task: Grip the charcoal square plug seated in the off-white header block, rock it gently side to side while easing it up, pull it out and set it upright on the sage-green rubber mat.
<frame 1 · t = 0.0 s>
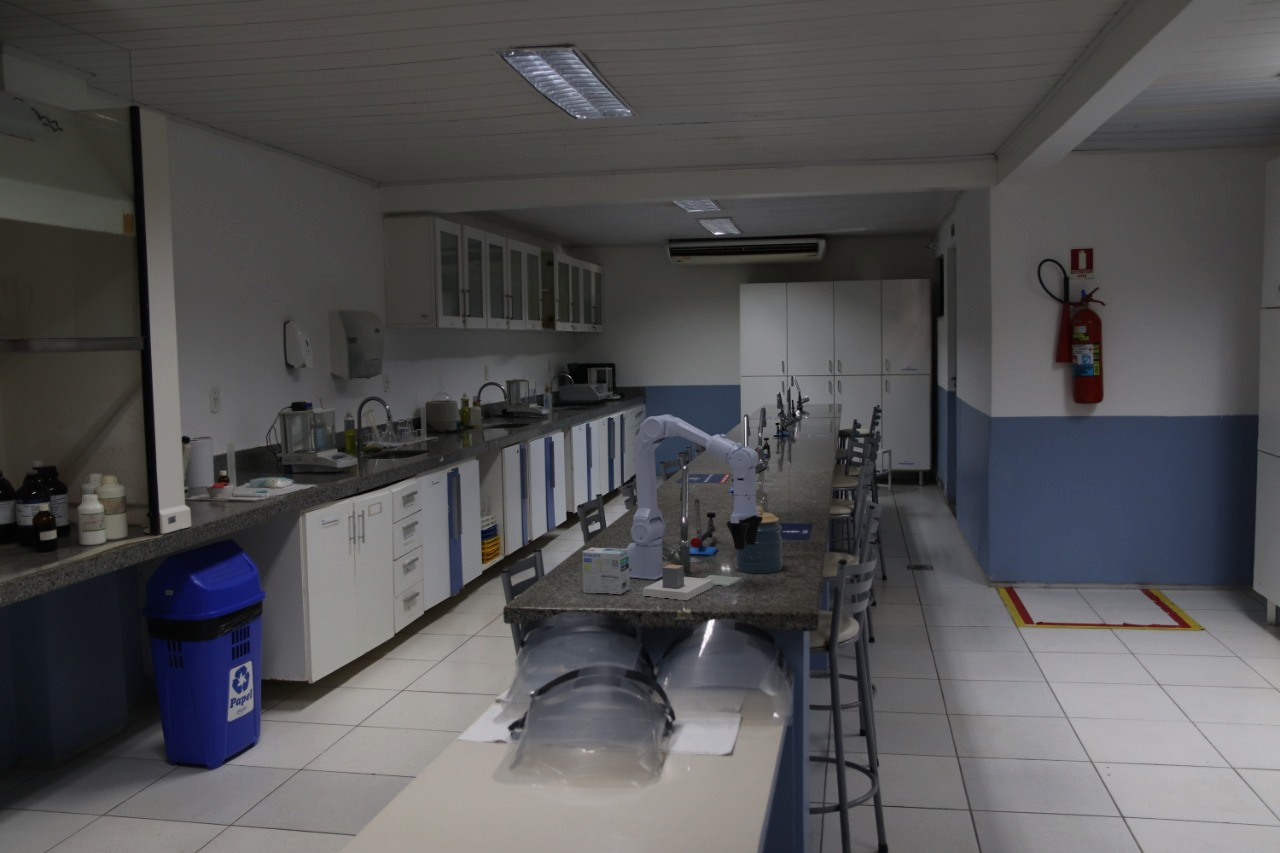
hand: (745, 546, 260), 10 cm above the counter, tool pointing down, fingers open, 7 cm apart
plug: (673, 594, 253), resting in header
canister: (758, 570, 280), on the counter
light bulb box: (606, 592, 257), on the counter
mat: (719, 581, 266), on the counter
header: (678, 591, 255), on the counter
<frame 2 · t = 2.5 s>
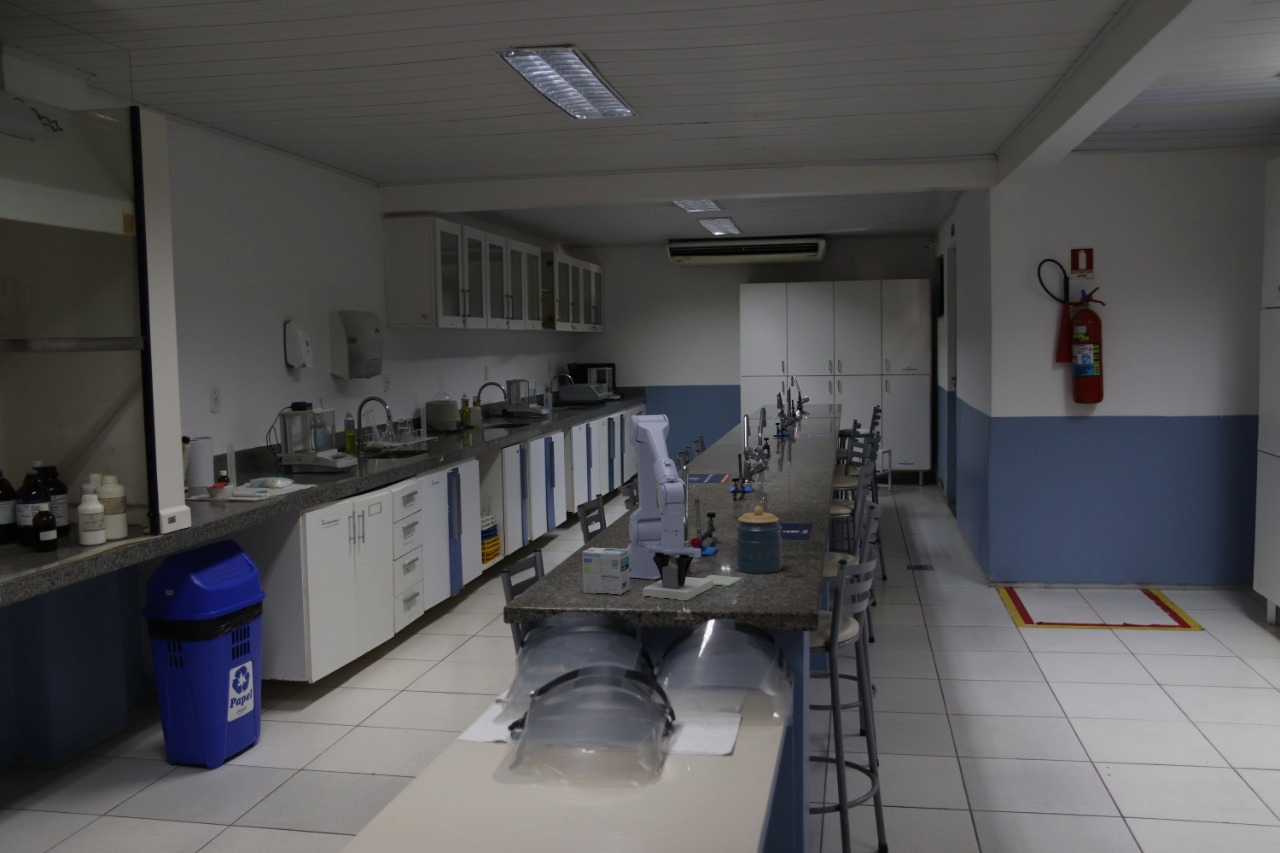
hand: (673, 583, 253), 3 cm above the counter, tool pointing down, fingers closed on plug, 4 cm apart
plug: (673, 594, 253), resting in header, touching gripper
everything else where it was.
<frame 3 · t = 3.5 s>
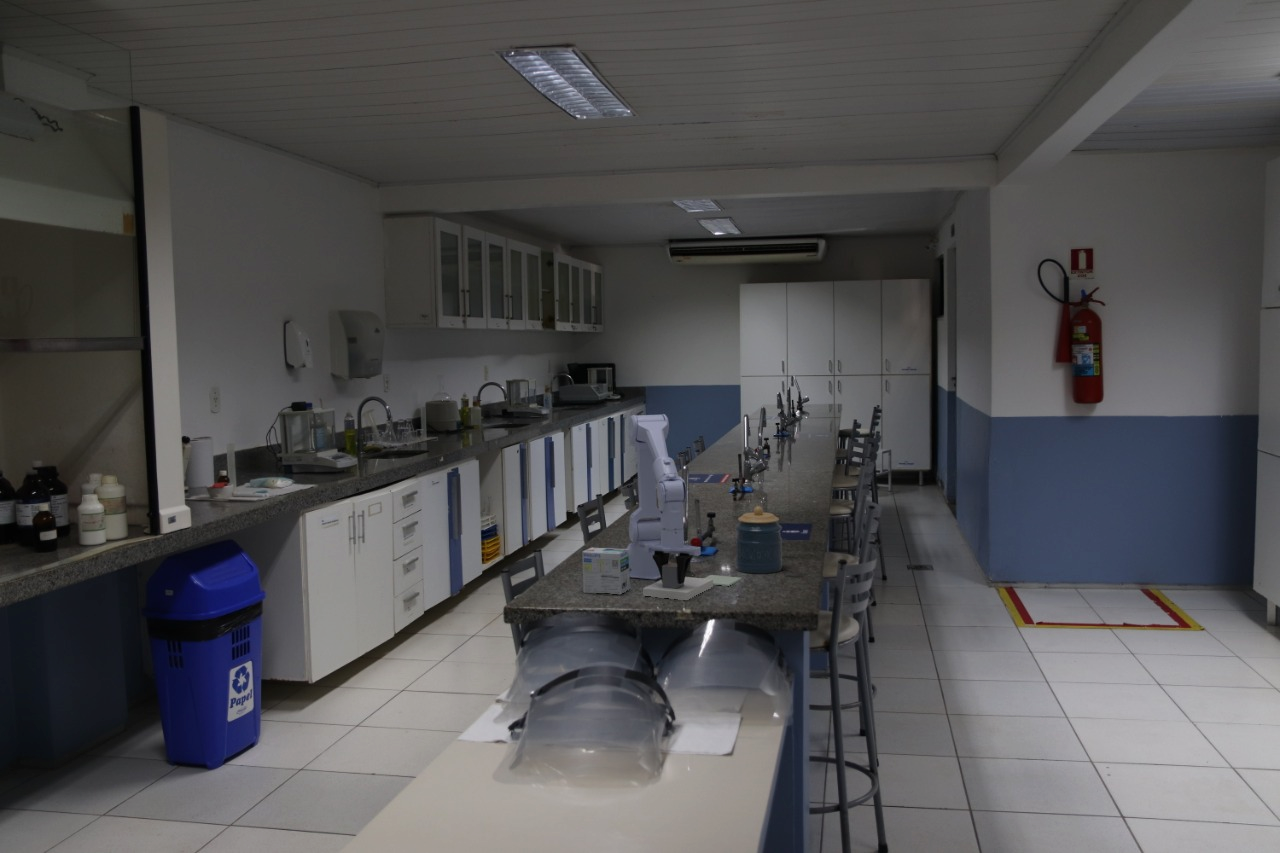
hand: (673, 582, 252), 3 cm above the counter, tool pointing down, fingers closed on plug, 4 cm apart
plug: (673, 592, 253), resting in header, touching gripper
everything else where it was.
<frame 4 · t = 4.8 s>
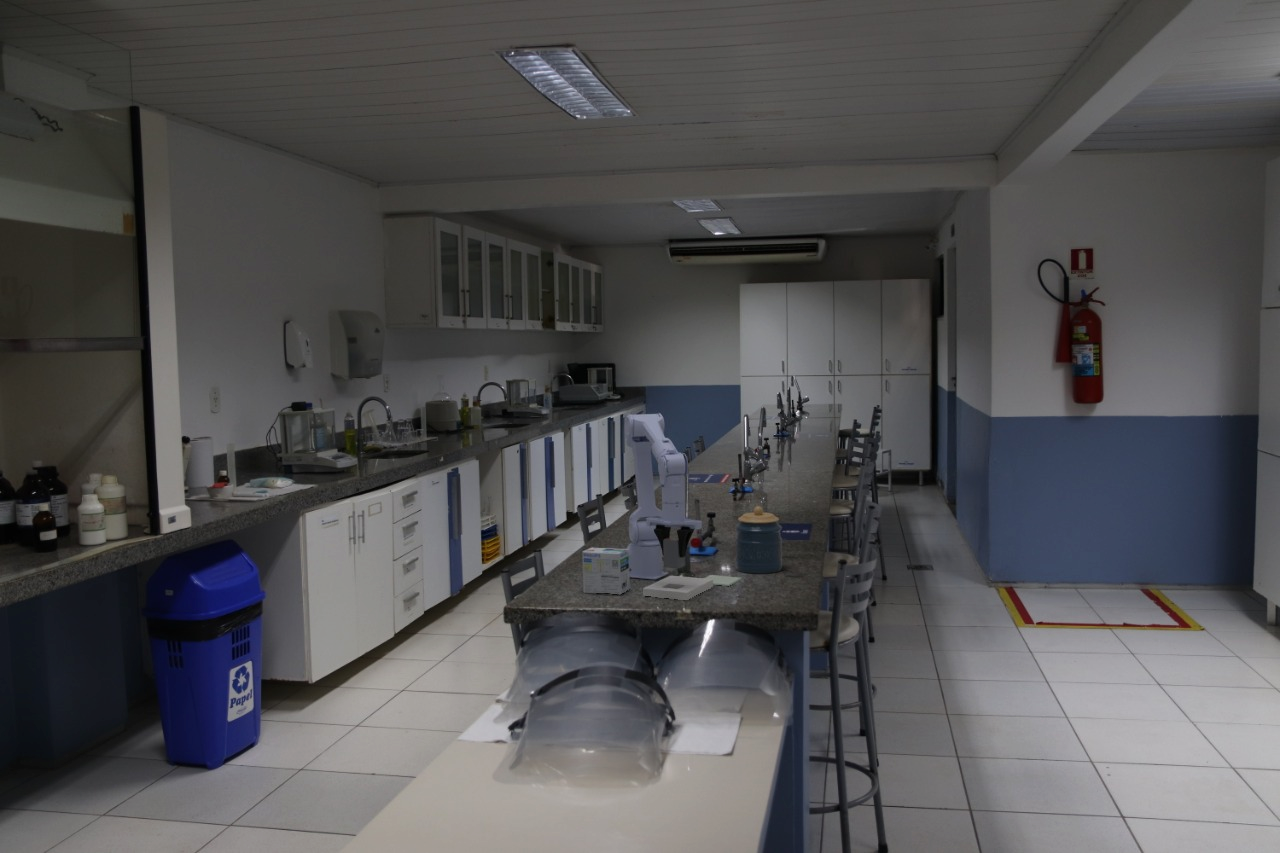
hand: (674, 556, 252), 10 cm above the counter, tool pointing down, fingers closed on plug, 4 cm apart
plug: (674, 566, 253), point 7 cm above the counter, touching gripper
everything else where it was.
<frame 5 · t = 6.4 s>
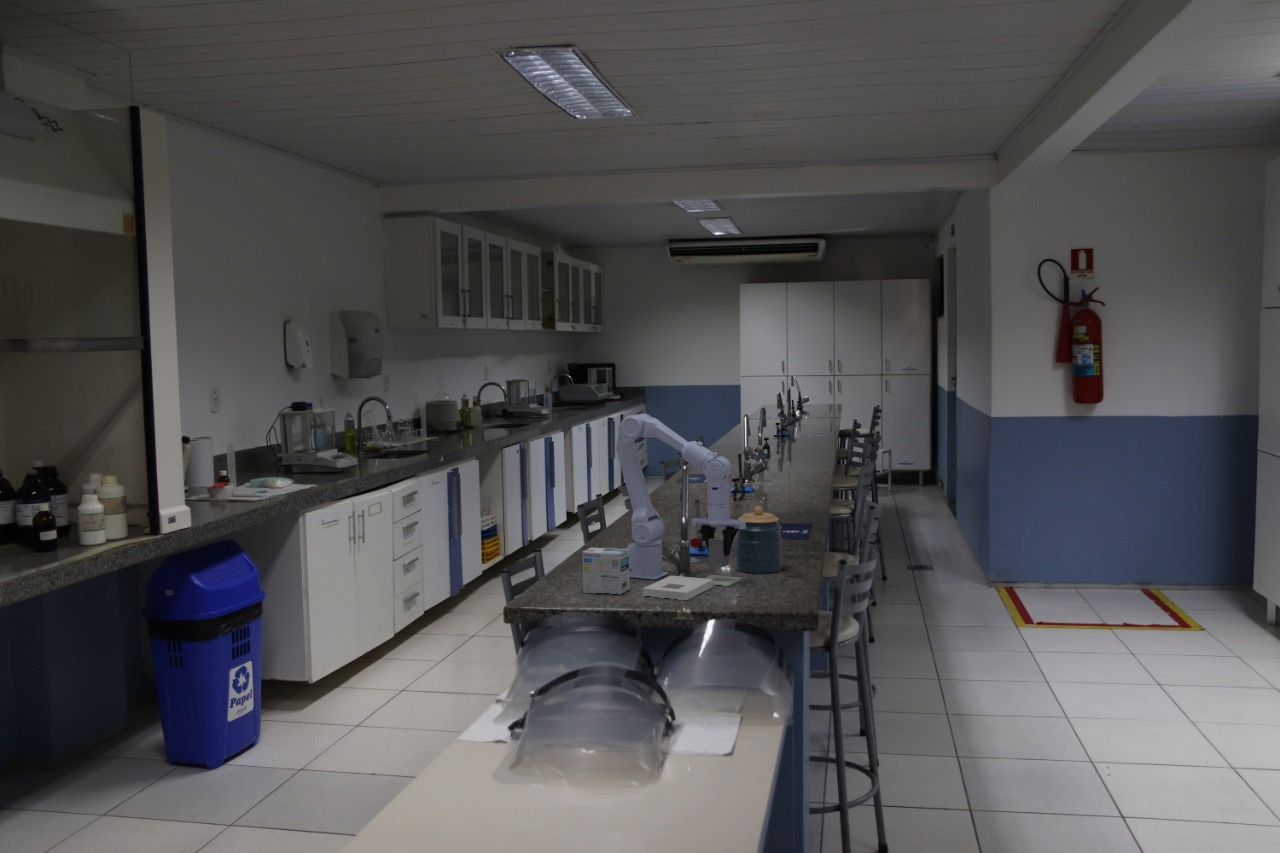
hand: (719, 554, 265), 7 cm above the counter, tool pointing down, fingers closed on plug, 4 cm apart
plug: (718, 565, 265), point 4 cm above the counter, touching gripper
everything else where it was.
when the fingers open (4 cm above the counter, at t = 7.3 s): plug stays where it is, resting on mat.
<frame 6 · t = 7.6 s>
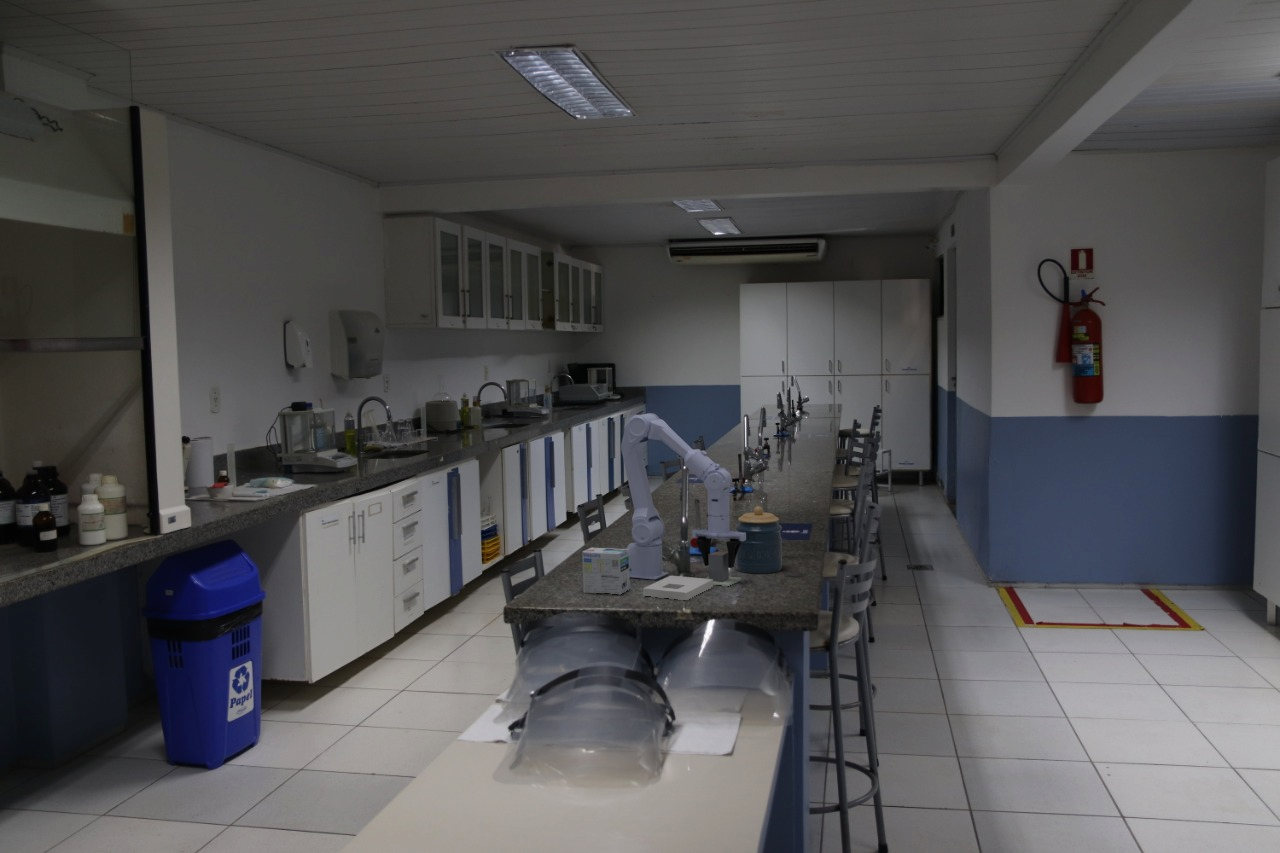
hand: (719, 566, 266), 4 cm above the counter, tool pointing down, fingers open, 6 cm apart
plug: (718, 579, 266), resting on mat
everything else where it was.
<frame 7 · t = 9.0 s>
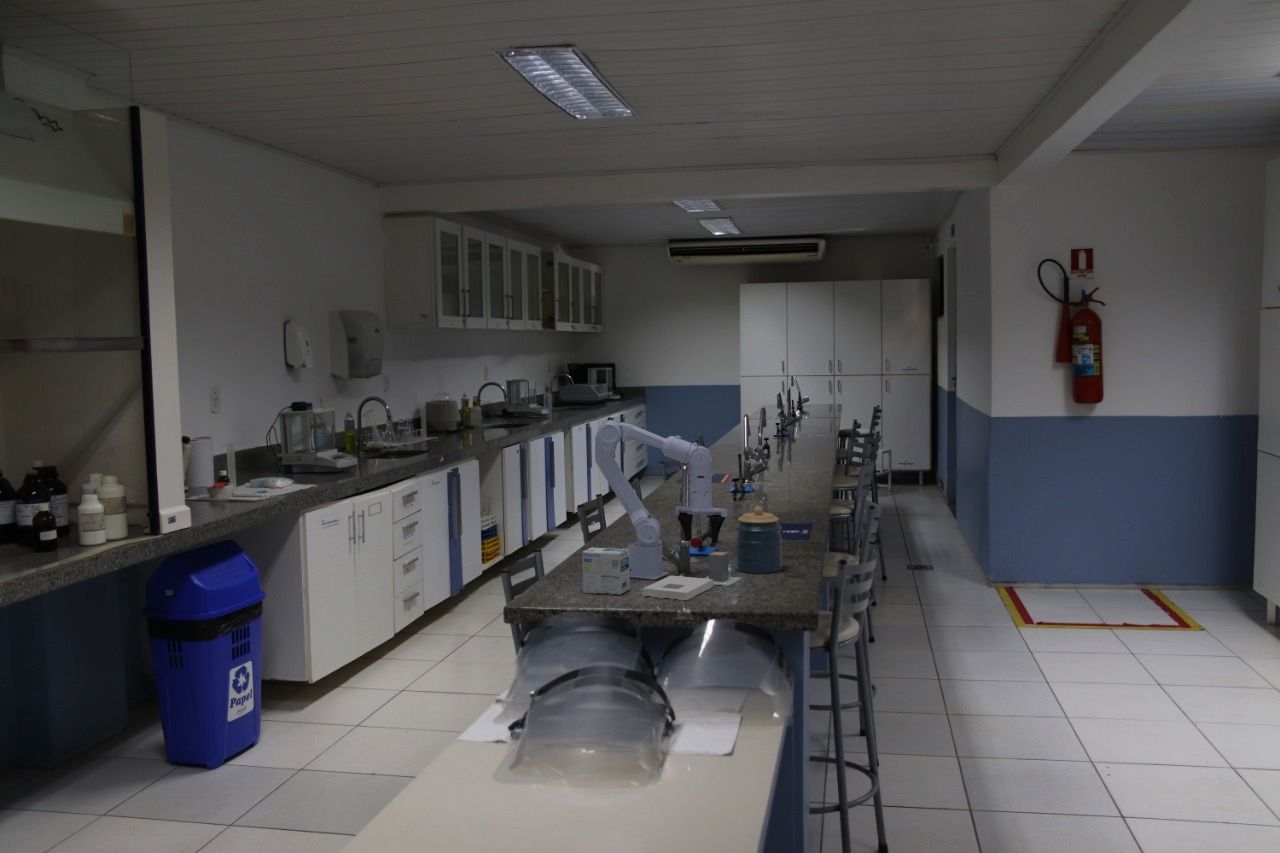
hand: (701, 541, 272), 9 cm above the counter, tool pointing down, fingers open, 7 cm apart
nothing on the counter moved.
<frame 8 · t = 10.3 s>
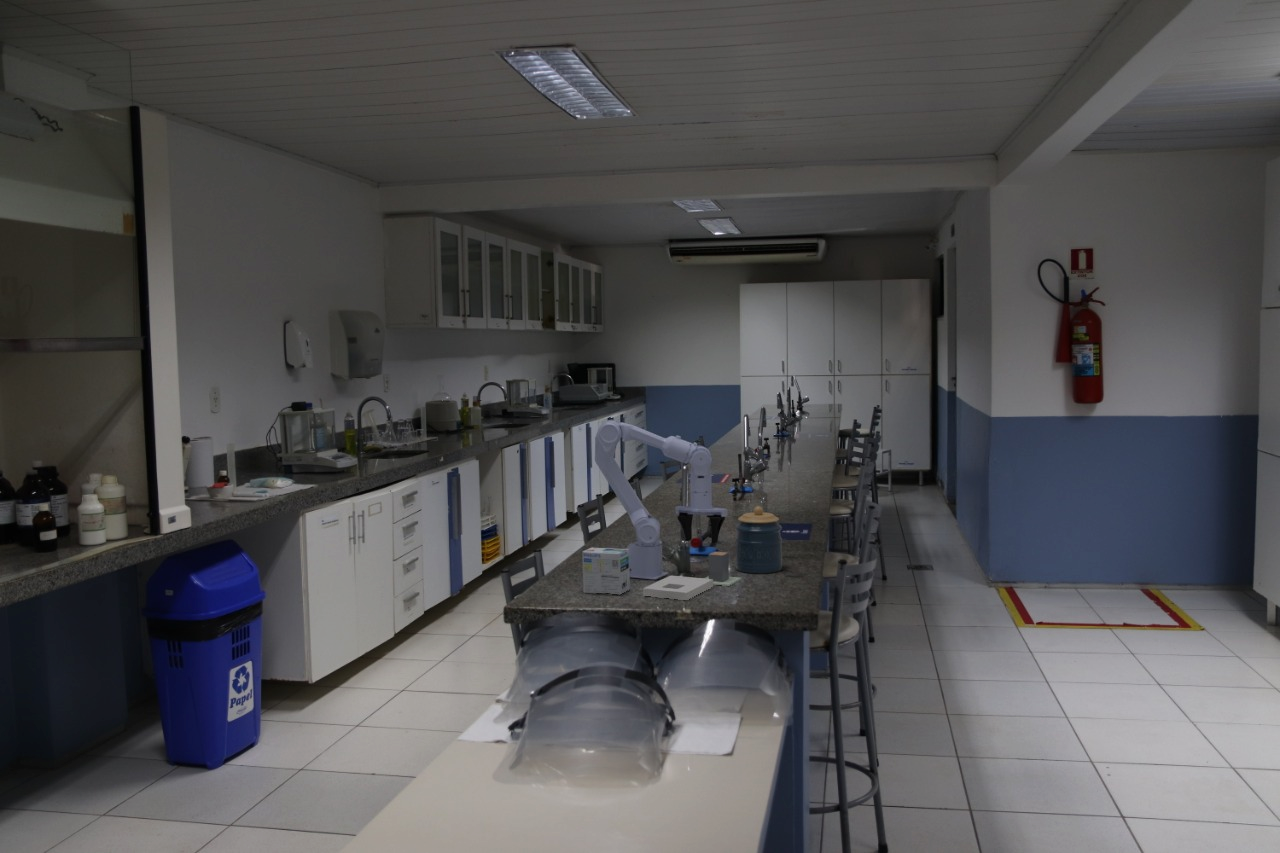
hand: (701, 541, 272), 9 cm above the counter, tool pointing down, fingers open, 7 cm apart
nothing on the counter moved.
at the end: plug 0.3 cm off-centre on the mat, point 0.5 cm above the mat's base; plug tilted 0°; plug touching mat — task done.
